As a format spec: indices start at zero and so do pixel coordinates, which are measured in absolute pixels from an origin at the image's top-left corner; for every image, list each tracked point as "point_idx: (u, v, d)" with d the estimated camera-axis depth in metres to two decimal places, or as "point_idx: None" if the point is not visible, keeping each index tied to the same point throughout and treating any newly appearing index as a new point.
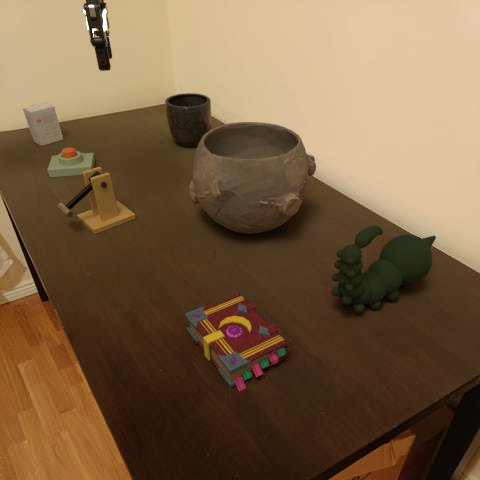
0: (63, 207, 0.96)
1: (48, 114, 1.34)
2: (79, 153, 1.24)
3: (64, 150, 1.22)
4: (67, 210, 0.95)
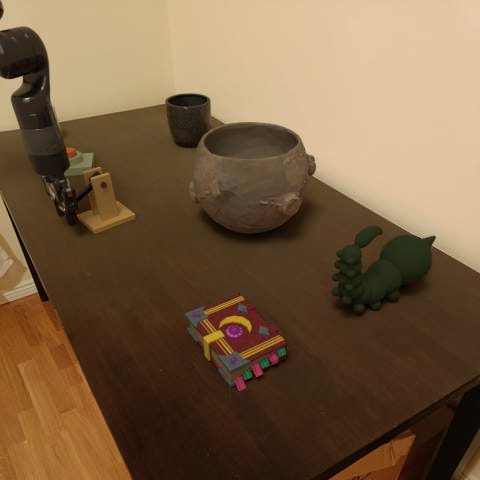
0: None
1: None
2: (79, 153, 1.24)
3: None
4: None
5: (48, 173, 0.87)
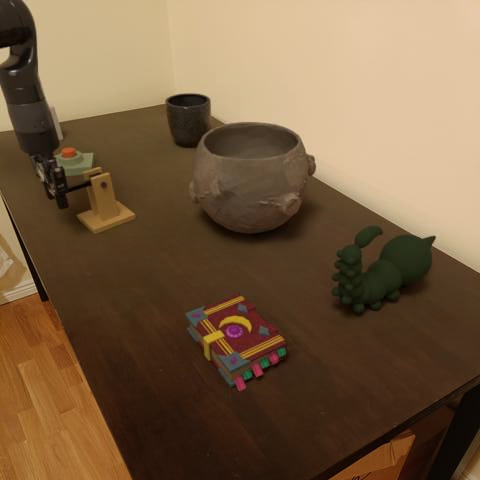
0: None
1: None
2: (79, 153, 1.24)
3: (64, 150, 1.22)
4: None
5: (36, 152, 0.83)
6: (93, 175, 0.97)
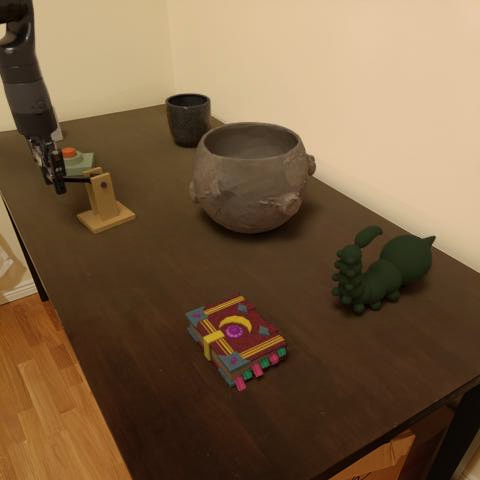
0: None
1: None
2: (79, 153, 1.24)
3: (64, 150, 1.22)
4: None
5: (33, 134, 0.81)
6: (95, 174, 0.97)
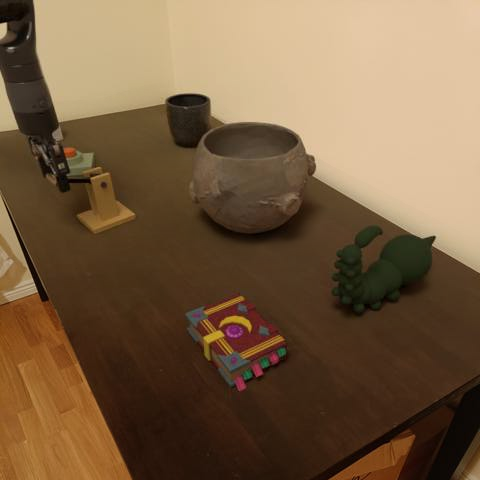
0: (53, 176, 0.91)
1: None
2: (79, 153, 1.24)
3: (64, 150, 1.22)
4: None
5: (35, 133, 0.81)
6: (94, 174, 0.97)
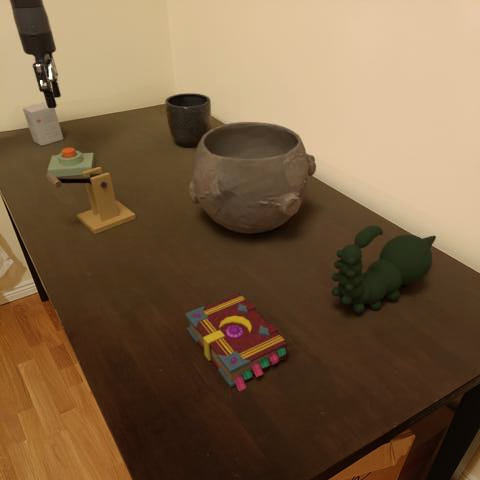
0: (53, 176, 0.91)
1: (48, 114, 1.34)
2: (79, 153, 1.24)
3: (64, 150, 1.22)
4: (58, 180, 0.90)
5: (29, 52, 1.02)
6: (94, 174, 0.97)
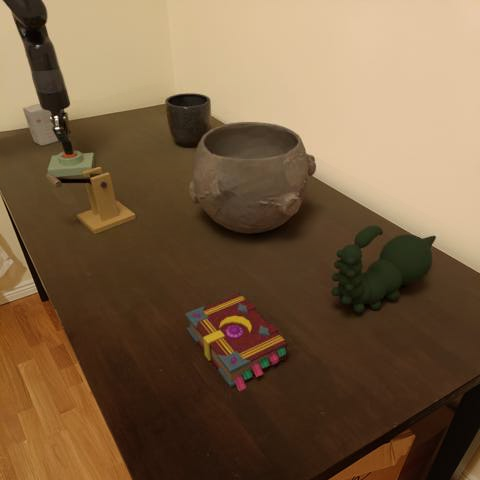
0: (53, 176, 0.91)
1: (48, 114, 1.34)
2: (79, 153, 1.24)
3: None
4: (58, 180, 0.90)
5: (46, 108, 1.11)
6: (94, 174, 0.97)
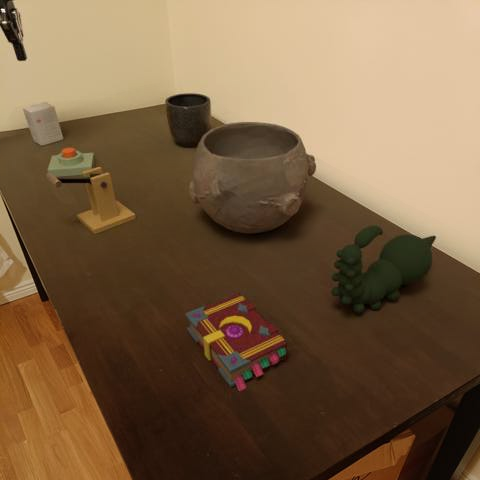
0: (53, 176, 0.91)
1: (48, 114, 1.34)
2: (79, 153, 1.24)
3: (64, 150, 1.22)
4: (58, 180, 0.90)
5: None
6: (94, 174, 0.97)
